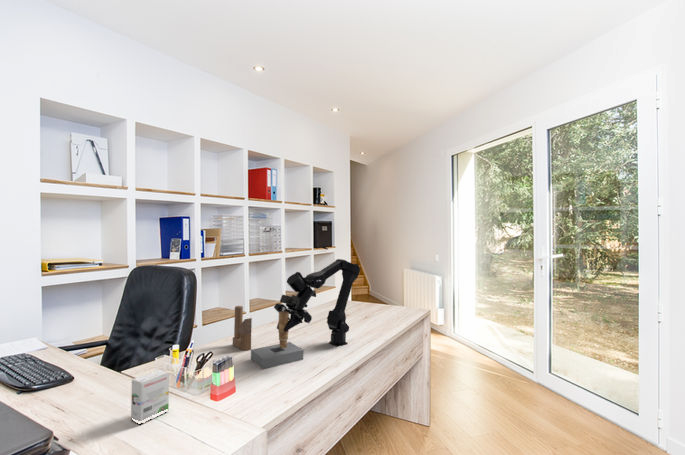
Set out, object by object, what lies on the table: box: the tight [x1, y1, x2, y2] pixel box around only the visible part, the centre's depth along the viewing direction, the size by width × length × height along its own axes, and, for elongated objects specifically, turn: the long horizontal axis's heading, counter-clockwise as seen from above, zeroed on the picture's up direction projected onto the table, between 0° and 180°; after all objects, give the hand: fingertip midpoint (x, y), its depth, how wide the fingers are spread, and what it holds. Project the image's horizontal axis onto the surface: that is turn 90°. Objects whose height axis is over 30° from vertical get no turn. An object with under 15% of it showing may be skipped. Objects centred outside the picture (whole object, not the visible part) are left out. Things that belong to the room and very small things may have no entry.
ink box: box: [130, 369, 170, 421], centre depth 99 cm, size 8×5×12 cm, turn 150°
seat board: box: [250, 341, 304, 370], centre depth 144 cm, size 18×12×4 cm, turn 126°
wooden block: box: [232, 305, 253, 352], centre depth 157 cm, size 4×11×18 cm, turn 45°
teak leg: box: [278, 311, 290, 348], centre depth 141 cm, size 4×4×14 cm
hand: (280, 330), depth 140 cm, fingers closed on teak leg, 4 cm apart
